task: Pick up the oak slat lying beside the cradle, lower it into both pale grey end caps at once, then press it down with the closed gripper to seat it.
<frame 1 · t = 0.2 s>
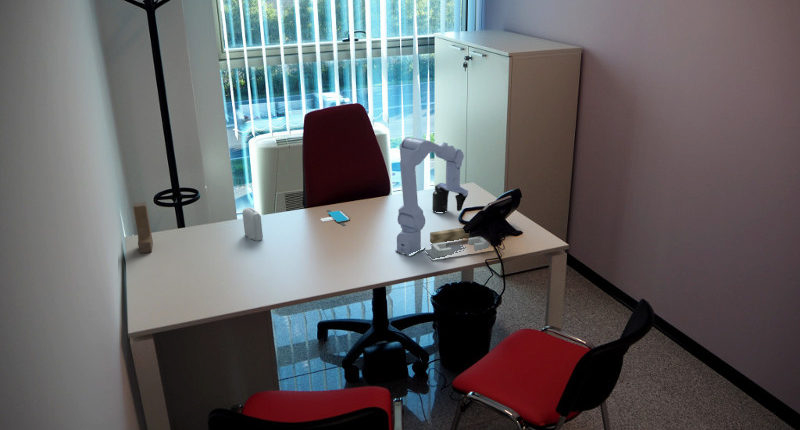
hand: (452, 208, 265), 10 cm above the table, fingers open, 7 cm apart
wooden block: (146, 249, 253), on the table
supplement bottle: (439, 211, 288), on the table
photo printer: (253, 237, 263), on the table
slat: (449, 242, 257), on the table
cradle: (459, 251, 248), on the table
phone stand: (334, 219, 282), on the table
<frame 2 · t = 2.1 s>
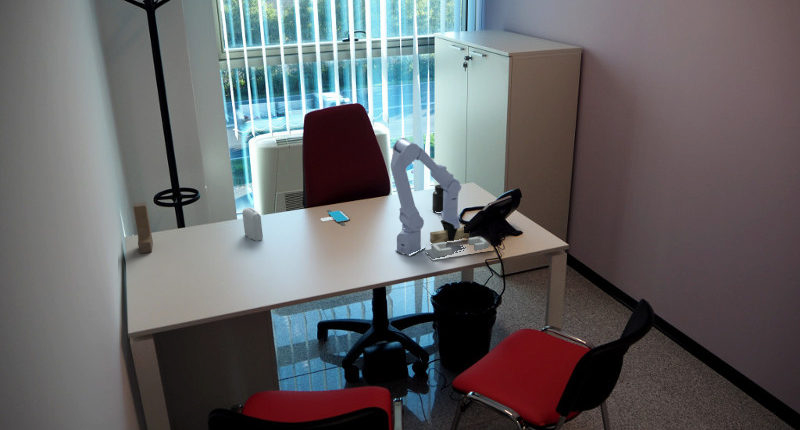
hand: (449, 238, 256), 1 cm above the table, fingers closed on slat, 2 cm apart
slat: (449, 242, 257), on the table, touching gripper
everything else where it was.
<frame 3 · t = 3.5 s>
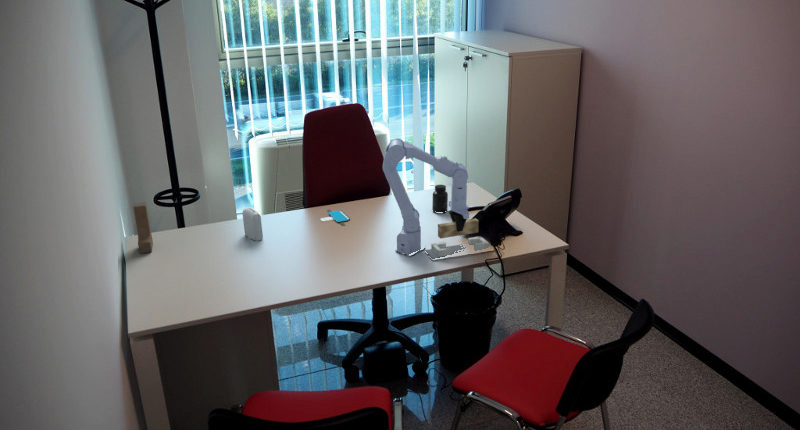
hand: (458, 229, 247), 8 cm above the table, fingers closed on slat, 2 cm apart
slat: (458, 234, 248), point 6 cm above the table, touching gripper
everything else where it was.
when the fingers open (4 cm above the table, at t = 4.8 s): slat stays where it is, resting on cradle.
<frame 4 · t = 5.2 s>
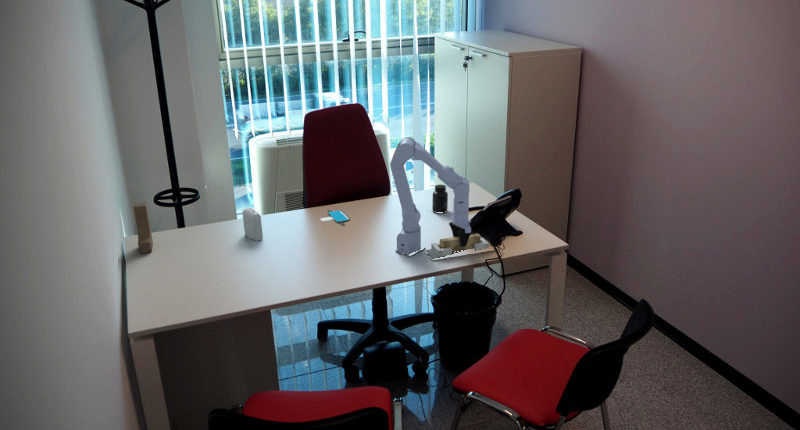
hand: (460, 243, 247), 4 cm above the table, fingers open, 6 cm apart
slat: (459, 249, 248), point 1 cm above the table, touching cradle
everything else where it was.
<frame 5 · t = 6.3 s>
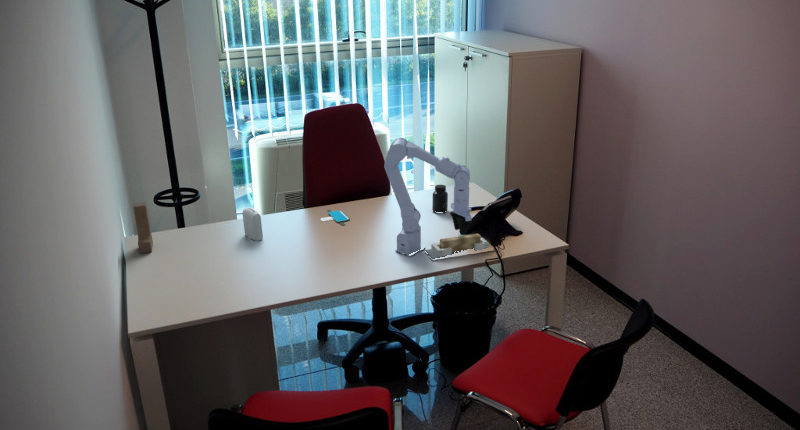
hand: (460, 231, 245), 8 cm above the table, fingers open, 4 cm apart
nothing on the table moved.
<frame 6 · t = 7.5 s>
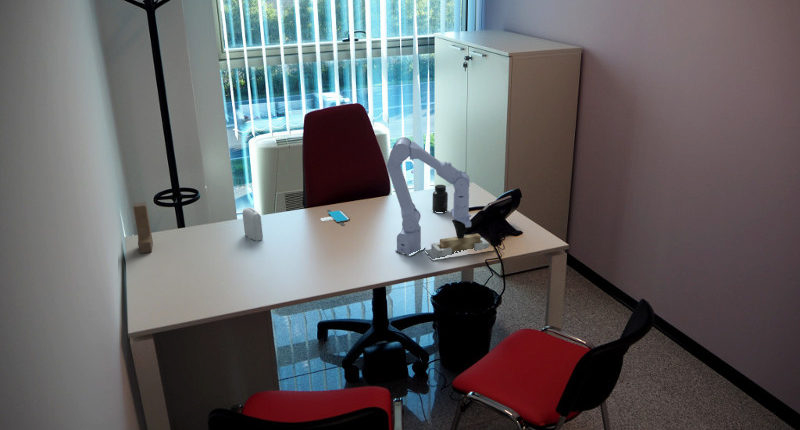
hand: (460, 237, 246), 6 cm above the table, fingers closed, pressing on slat
slat: (459, 249, 248), point 1 cm above the table, touching cradle, gripper
everything else where it was.
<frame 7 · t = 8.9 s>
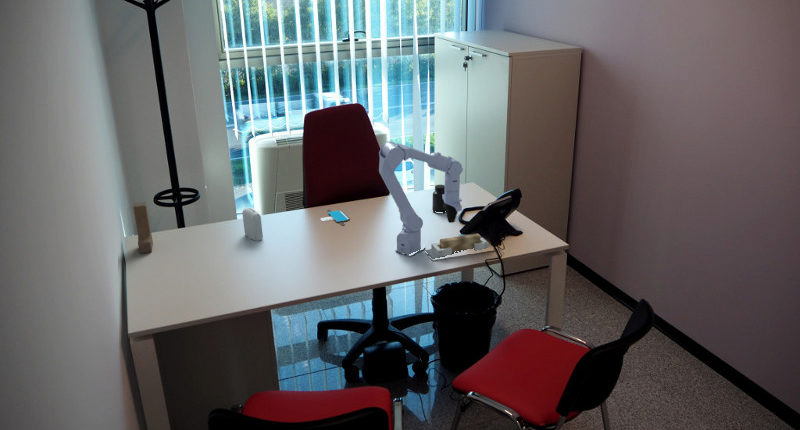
hand: (451, 221, 251), 9 cm above the table, fingers closed
slat: (459, 249, 248), point 1 cm above the table, touching cradle
everything else where it was.
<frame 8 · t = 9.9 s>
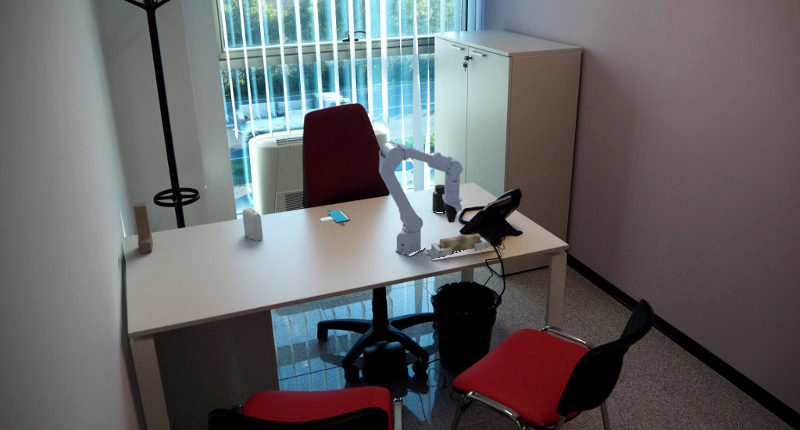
hand: (451, 221, 251), 9 cm above the table, fingers closed
nothing on the table moved.
at the end: slat 0.0 cm off-centre on the cradle, point 1.0 cm above the cradle's base; slat tilted 0°; the gripper is holding nothing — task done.
